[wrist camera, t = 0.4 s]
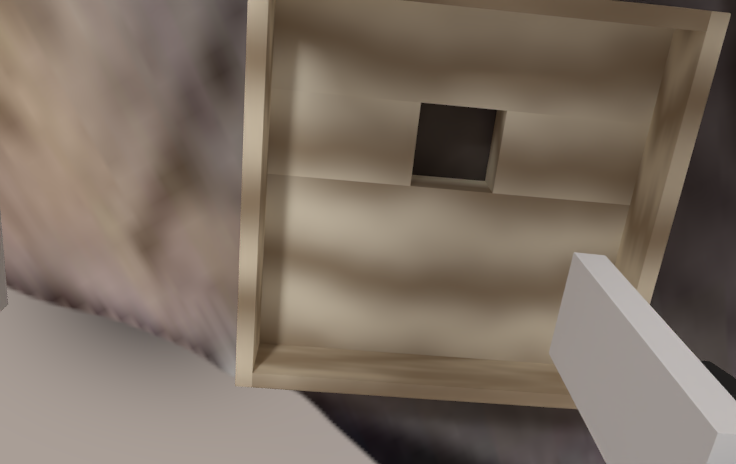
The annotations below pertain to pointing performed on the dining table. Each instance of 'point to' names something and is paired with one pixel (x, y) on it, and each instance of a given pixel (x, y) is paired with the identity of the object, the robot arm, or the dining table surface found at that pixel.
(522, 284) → the box
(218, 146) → the dining table surface
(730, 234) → the dining table surface
